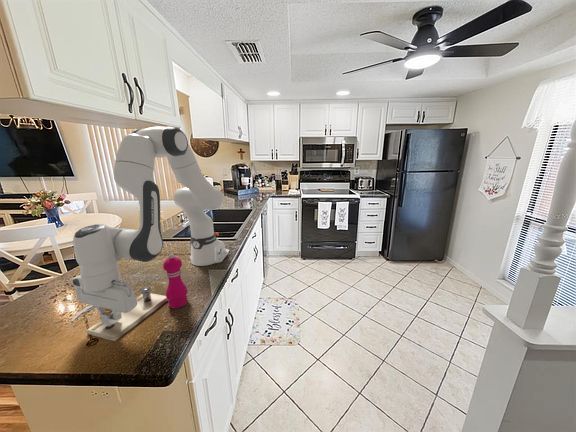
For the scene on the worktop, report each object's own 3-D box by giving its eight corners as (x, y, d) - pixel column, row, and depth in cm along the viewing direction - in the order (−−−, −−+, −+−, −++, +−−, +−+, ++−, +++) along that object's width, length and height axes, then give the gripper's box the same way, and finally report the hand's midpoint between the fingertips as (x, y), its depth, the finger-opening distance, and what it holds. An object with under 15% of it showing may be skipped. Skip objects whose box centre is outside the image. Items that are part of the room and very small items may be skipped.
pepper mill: (166, 301, 86) (158, 253, 81) (186, 295, 90) (179, 248, 85) (169, 311, 80) (161, 260, 75) (190, 304, 84) (184, 254, 79)
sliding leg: (115, 318, 74) (112, 304, 73) (122, 320, 73) (119, 305, 72) (102, 327, 70) (99, 312, 69) (110, 328, 70) (106, 313, 68)
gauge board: (145, 295, 90) (145, 291, 89) (168, 299, 87) (167, 295, 86) (87, 334, 70) (86, 329, 70) (114, 341, 67) (113, 336, 67)
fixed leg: (147, 297, 86) (145, 286, 85) (154, 298, 85) (152, 287, 84) (140, 302, 83) (138, 290, 82) (147, 303, 82) (145, 292, 81)
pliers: (69, 319, 75) (90, 294, 88) (70, 323, 75) (91, 298, 89) (105, 312, 78) (120, 289, 92) (106, 316, 78) (121, 293, 92)
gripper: (138, 277, 68) (145, 316, 71) (89, 269, 73) (98, 306, 77) (118, 289, 62) (127, 331, 66) (66, 279, 68) (77, 318, 71)
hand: (111, 317), depth 71 cm, fingers closed on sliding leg, 3 cm apart
